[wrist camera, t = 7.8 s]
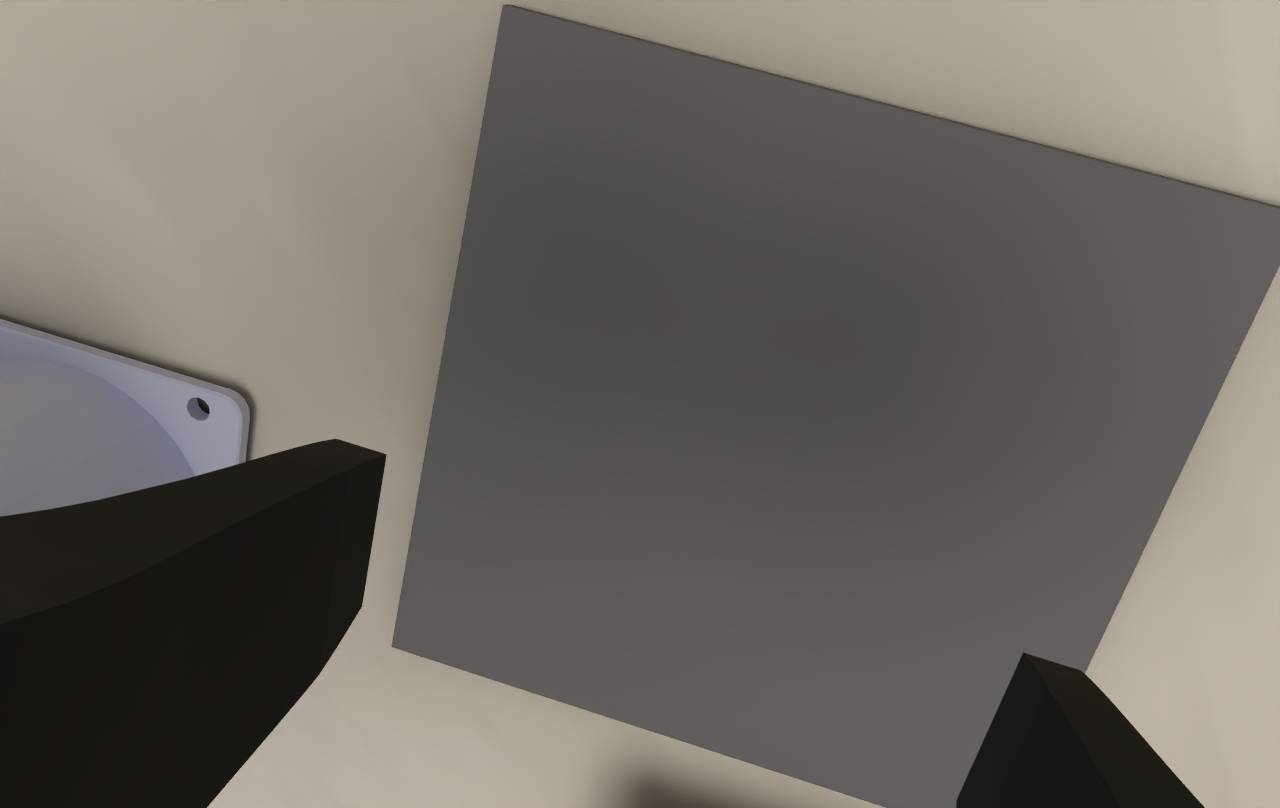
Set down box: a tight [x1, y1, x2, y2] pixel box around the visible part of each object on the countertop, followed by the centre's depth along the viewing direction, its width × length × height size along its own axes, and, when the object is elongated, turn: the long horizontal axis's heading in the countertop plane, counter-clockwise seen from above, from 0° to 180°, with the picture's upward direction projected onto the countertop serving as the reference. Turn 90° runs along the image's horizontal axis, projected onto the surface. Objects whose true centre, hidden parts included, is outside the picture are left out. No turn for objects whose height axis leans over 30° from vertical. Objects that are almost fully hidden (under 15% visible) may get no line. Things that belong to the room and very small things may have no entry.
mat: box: [392, 5, 1280, 808], centre depth 21 cm, size 14×14×1 cm
